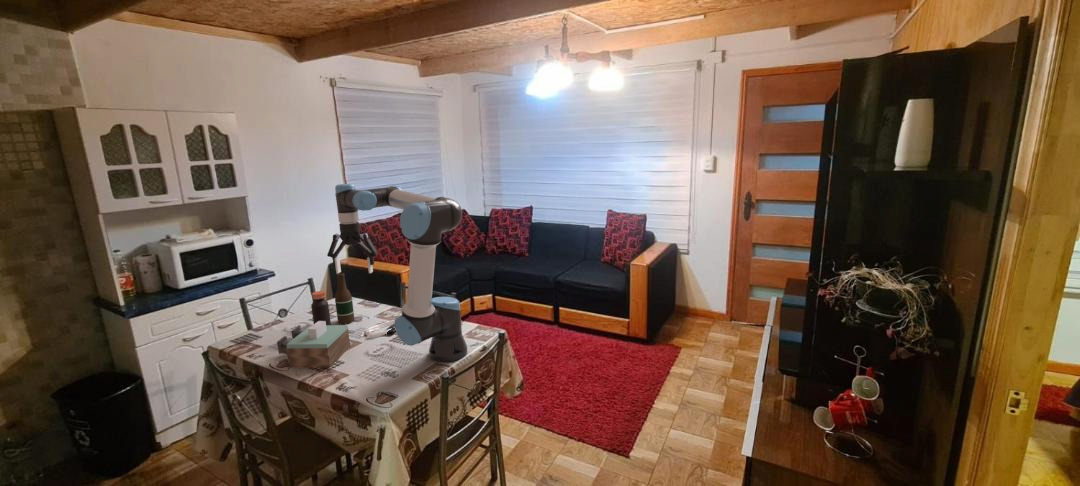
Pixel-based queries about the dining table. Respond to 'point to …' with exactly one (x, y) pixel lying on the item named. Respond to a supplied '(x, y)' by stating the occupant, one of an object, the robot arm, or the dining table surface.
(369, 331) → the door handle
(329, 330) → the door
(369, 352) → the dining table surface
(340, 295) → the beer bottle
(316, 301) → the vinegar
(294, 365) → the cabinet
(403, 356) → the dining table surface
